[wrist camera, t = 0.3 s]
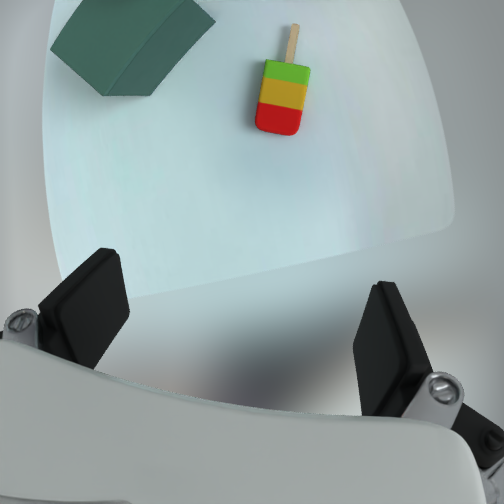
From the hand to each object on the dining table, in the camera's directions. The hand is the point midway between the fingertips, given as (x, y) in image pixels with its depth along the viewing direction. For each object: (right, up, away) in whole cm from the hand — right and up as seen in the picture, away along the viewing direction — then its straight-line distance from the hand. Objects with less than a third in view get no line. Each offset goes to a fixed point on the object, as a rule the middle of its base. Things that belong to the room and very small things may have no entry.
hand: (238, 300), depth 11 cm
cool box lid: (-14, +26, +11) cm, 32 cm away
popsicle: (+5, +23, +22) cm, 33 cm away
